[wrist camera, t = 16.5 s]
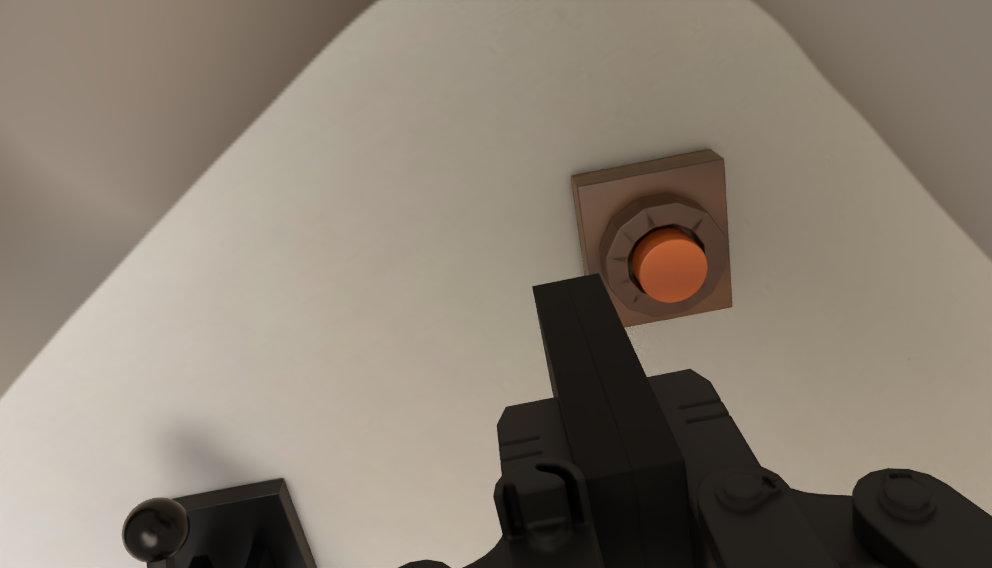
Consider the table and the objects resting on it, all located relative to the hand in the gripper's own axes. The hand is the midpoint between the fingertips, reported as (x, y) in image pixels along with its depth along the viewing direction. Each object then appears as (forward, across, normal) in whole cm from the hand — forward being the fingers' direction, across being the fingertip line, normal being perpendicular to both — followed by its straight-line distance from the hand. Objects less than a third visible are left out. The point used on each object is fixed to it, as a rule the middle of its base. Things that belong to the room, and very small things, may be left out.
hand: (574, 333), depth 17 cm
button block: (+25, +7, -9) cm, 28 cm away
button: (+22, +7, -9) cm, 25 cm away
